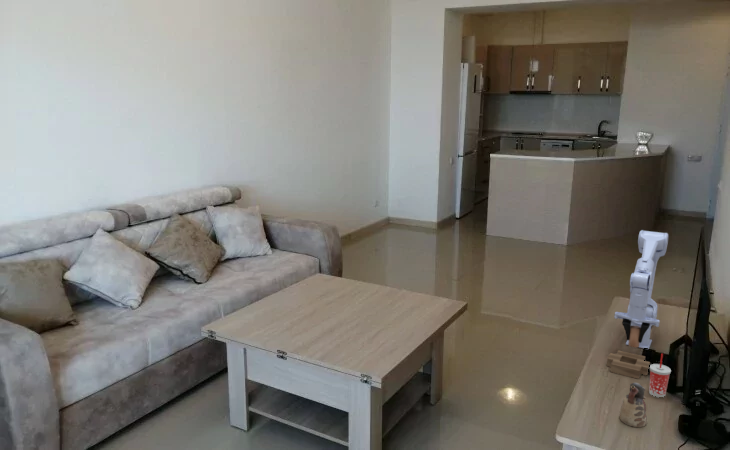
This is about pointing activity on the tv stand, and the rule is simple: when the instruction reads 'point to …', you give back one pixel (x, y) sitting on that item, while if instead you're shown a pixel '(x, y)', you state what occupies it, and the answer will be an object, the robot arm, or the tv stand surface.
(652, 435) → the tv stand surface
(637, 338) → the peg
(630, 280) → the robot arm
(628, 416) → the figurine
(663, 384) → the beverage cup
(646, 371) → the socket block
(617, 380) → the tv stand surface
